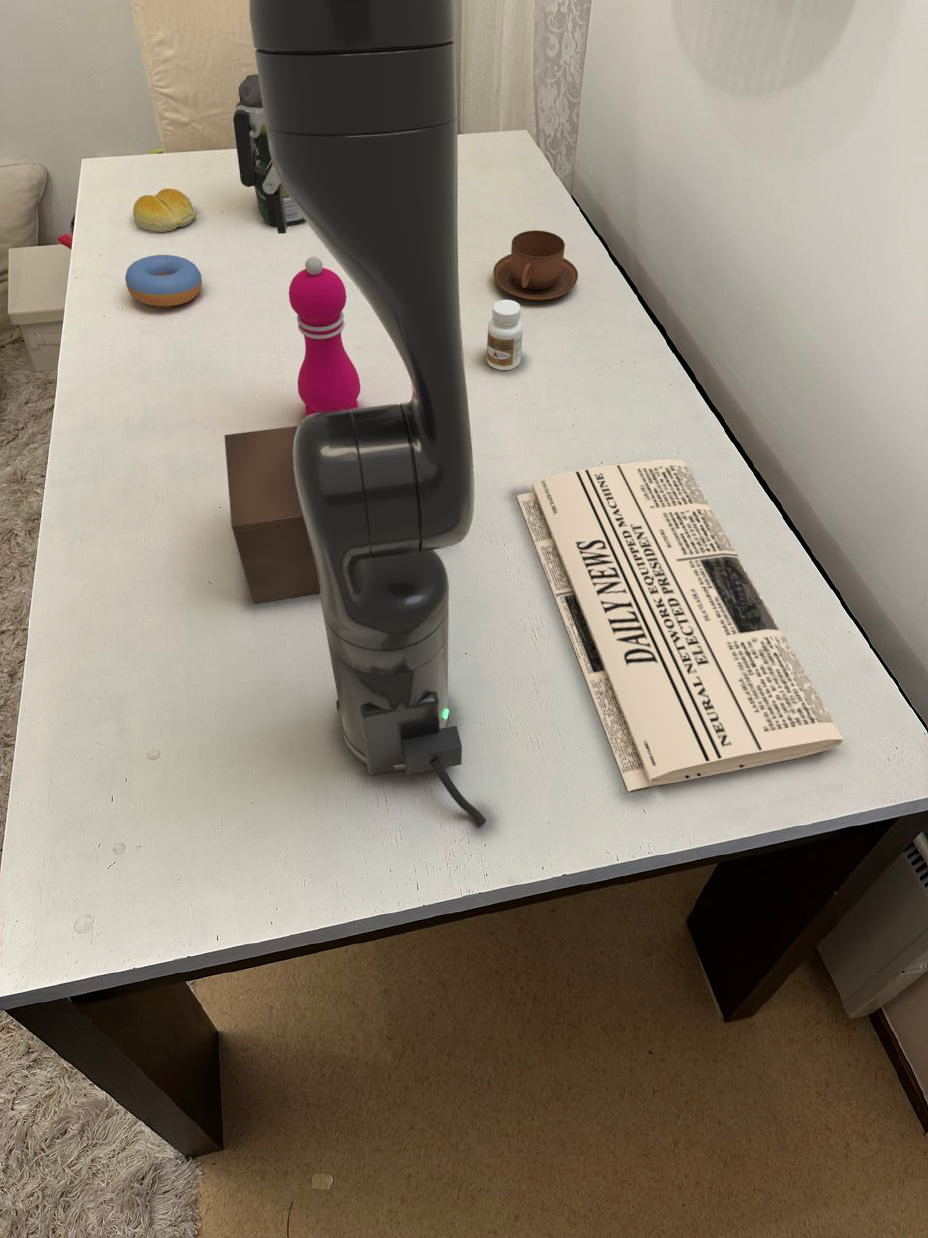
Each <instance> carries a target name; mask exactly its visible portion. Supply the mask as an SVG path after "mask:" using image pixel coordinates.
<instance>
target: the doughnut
mask: <svg viewBox="0 0 928 1238" xmlns="http://www.w3.org/2000/svg"><path fill="white" fill-rule="evenodd" d="M124 280H125V285H126V288H127V290H128V292H129V294H130V296H132V297H133V298H134V299H135V300H137V301H138V302H140V303H142V304H146V305H149V306H156V307H173V306H179V305H182V304H185V303H188V302H190V301H192V300H193V299H195V298H196V297H197V296H198V295H199V294H200V292H201V290H202V284H203V283H202V281H203V280H202V274H201V271H200V270H199V268H198V267H197V265H196V264H195V263H193V261H190V260H189V259H187V258H184V257H181V256H178V255H172V254H154V255H148V256H145V257H142V258H139V259H137V260H134V262H132V263H131V264H130V265H129V267H127V269H126V272H125V279H124Z"/></svg>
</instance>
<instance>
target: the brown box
mask: <svg viewBox="0 0 928 1238" xmlns="http://www.w3.org/2000/svg"><path fill="white" fill-rule="evenodd" d="M298 426H299V425H293V426H285V427H276V428H269V429H262V430H261V429H260V430H254V431H246V432H237V433H229V434H224V447H225V460H226V461H225V462H226V471H227V472H226V473H227V487H228V499H229V510H230V511H229V512H230V523H231V524H230V525H231V526H230V527H231V529H232V532H233V537H234V540H235V541H234V542H235V544H236V547H237V551H238V556H239V559H240V562H241V567H242V569H243V573H244V577H245V580H246V583H247V584H246V585H247V587H248V590H249V595H250V598H251V601H252V604H260V603H265V602H271V601H278V600H283V599H289V598H296V597H297V598H298V597H303V596H307V595H308V596H309V595H316V594H320V590H319V583H318V576H317V571H316V566H315V562H314V557H313V553H312V549H311V545H310V541H309V538H308V534H307V530H306V527H305V523H304V519H303V516H302V512H301V508H300V503H299V499H298V494H297V489H296V484H295V476H294V469H293V444H294V438H295V435H296V431H297V428H298Z"/></svg>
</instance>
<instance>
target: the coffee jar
mask: <svg viewBox="0 0 928 1238" xmlns="http://www.w3.org/2000/svg"><path fill="white" fill-rule="evenodd" d="M238 97H239V102H245V103H247V104H248V105H249V107H250V108H263V103H262V97H261V90H260V83H259V77H258V73H256V74H249V75H247V76H246V77H245V78H244V79H243V80H242V81H241V83H240V84H239V86H238ZM253 140H254V150H255V159H256V166H259V167H262V168H265V169H267V167H268V165H269V163H270V162H271V160H272V158H271V155H270V150H269V144H268V138H267V132H266V124H265V125H263V126H261V128H260V134H259V136H258V137H256V138H253ZM280 184H281V187H282V194H283V201H284V208H285V214H286V222H287V226H290V225H295V224H298V223H300V222H303V221H304V220H305V219H304V218H303V216H302V215H301V213H300V212H299V211H298V209H297V208H296V206H295V205H294V203H293V201H292V200H291V198H290V197H289V195H288V193H287V192H286V190H285V188H284V186H283V185H282V183H280ZM254 191H255V192H254V193H255V197H256V201H257V206H258V210H259V212H260V215H261V216H262V217H263V219H264V220H265V221H266V222H267V223H269V219H268V213H267V207H266V200H265V195H264V193H263V191H262V190H261V189H259V188H257V187H254ZM305 221H306V220H305Z"/></svg>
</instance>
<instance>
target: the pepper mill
mask: <svg viewBox="0 0 928 1238" xmlns="http://www.w3.org/2000/svg"><path fill="white" fill-rule="evenodd" d="M304 267H305V268H304V269H302V270H300V271H299V272H298V273H296V274H295V275H294V276H293V278H292V279H291V282H290V284H289V288H288V298H289V299H288V300H289V304H290V307H291V308H292V310H293V311H294V312H295V314H297V316H296V321H297V329H298V330H299V332H300V333H301V334H302V335H303V338H304V346H305V347H304V349H305V350H304V351H305V352H304V358H303V361H302V363H301V365H300V368H299V371H298V377H297V393H298V396H299V398H300V400H301V401H302V403H303V404H304V411H305V418H306V417H307V416H309V415H312V414H315V413H321V412H328V411H336V410H344V409H349V410H350V409H353V408H359V402H358V400H357V399H358V398H359V395H360V394H361V382H360V376H359V373H358V371H357V369H356V367H355V364H354V363H353V362H352V360H351V358H350V356H349V355H348V352H347V351H346V349H345V347H344V343H343V337H342V331H343V330H344V329H345V320H344V318H345V315H344V312H343V310H344V309H345V306H346V302H347V291H346V286H345V285H344V282H343V279H341V278H340V276H339V275H338V274H337V273H336V272H335V271H333V270H331V269H329V268H326V267H324V265H323V262H322V260H321V259H320V258H319V257H317V256H310V257H308V258H307V259H306V260H305V263H304Z"/></svg>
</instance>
